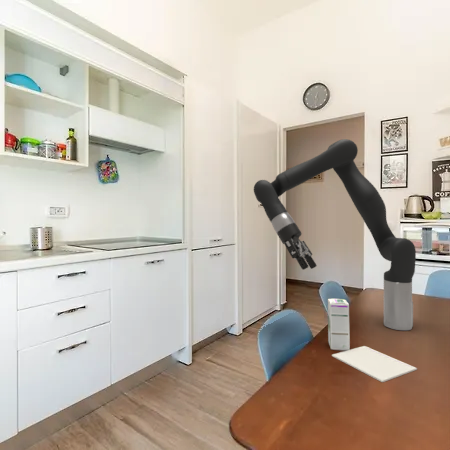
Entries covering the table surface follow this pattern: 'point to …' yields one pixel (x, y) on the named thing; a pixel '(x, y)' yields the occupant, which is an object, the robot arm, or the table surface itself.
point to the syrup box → (338, 324)
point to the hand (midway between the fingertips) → (310, 268)
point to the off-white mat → (374, 363)
